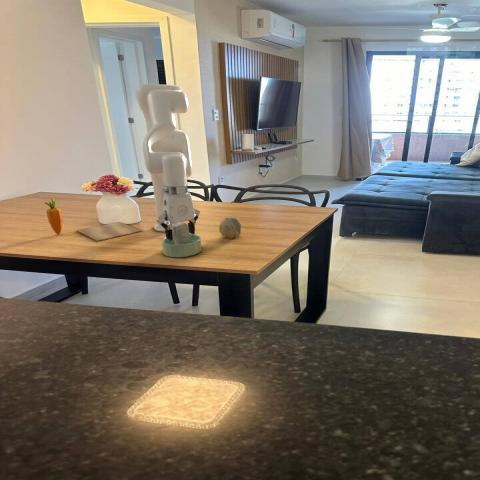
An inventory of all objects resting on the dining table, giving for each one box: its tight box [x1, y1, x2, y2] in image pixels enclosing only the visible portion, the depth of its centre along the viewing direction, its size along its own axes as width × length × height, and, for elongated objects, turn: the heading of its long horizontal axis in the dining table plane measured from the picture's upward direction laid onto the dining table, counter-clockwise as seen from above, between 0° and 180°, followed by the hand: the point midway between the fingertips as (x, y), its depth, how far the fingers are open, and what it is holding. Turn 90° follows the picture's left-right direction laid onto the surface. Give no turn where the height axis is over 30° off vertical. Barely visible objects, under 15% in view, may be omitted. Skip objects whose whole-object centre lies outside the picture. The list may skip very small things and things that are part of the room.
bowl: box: [161, 233, 202, 258], centre depth 142 cm, size 14×14×5 cm
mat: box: [76, 221, 142, 242], centre depth 164 cm, size 18×20×1 cm
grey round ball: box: [218, 216, 243, 240], centre depth 159 cm, size 9×8×10 cm
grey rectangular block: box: [171, 222, 190, 245], centre depth 141 cm, size 5×4×10 cm
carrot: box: [44, 198, 63, 236], centre depth 156 cm, size 5×5×15 cm
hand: (181, 236), depth 141 cm, fingers open, 8 cm apart
